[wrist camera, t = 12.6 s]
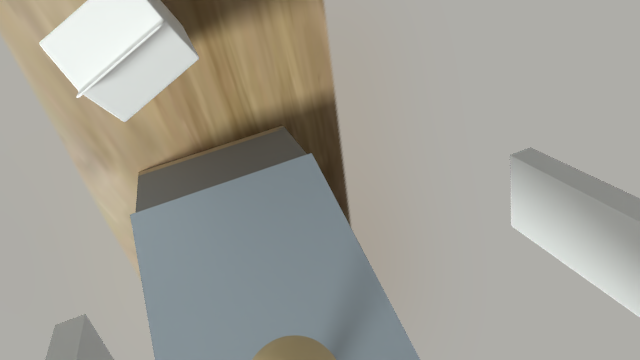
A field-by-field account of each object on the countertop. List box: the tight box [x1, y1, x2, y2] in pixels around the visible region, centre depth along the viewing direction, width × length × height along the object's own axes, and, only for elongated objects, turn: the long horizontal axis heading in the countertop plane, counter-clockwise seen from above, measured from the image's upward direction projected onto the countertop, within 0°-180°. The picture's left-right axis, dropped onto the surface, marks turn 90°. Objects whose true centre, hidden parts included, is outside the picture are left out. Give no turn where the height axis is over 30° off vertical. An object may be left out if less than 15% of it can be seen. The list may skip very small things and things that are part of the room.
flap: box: [130, 153, 420, 360], centre depth 30 cm, size 22×16×10 cm
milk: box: [39, 0, 199, 122], centre depth 33 cm, size 6×6×22 cm
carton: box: [136, 126, 307, 213], centre depth 50 cm, size 22×16×10 cm
